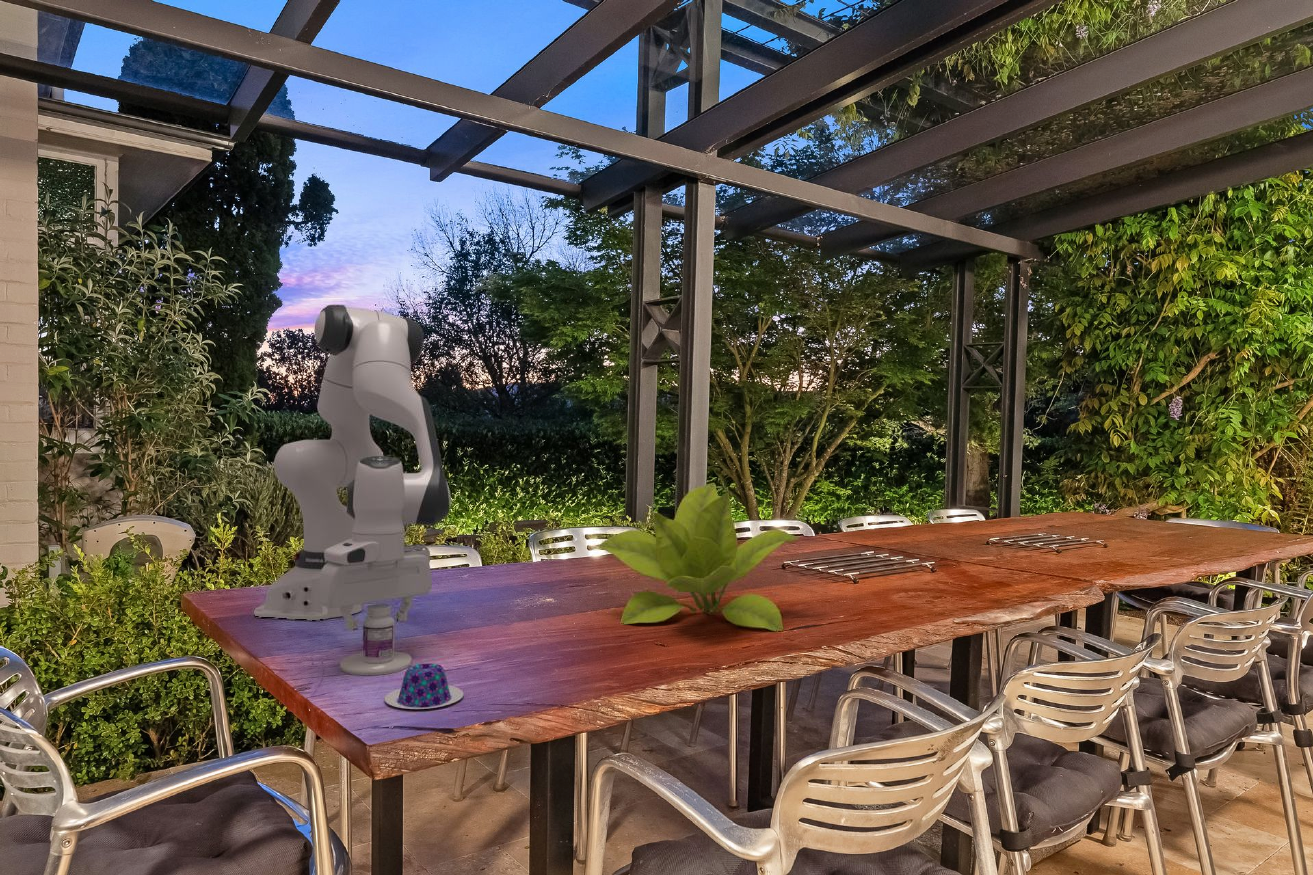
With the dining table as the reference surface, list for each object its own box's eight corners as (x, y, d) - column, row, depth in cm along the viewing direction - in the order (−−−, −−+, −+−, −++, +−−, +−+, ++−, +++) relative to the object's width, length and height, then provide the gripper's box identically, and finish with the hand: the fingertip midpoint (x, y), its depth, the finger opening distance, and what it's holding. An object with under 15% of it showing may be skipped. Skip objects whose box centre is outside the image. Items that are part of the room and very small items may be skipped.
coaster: (330, 675, 143) (330, 669, 143) (352, 655, 155) (352, 650, 155) (402, 675, 144) (402, 669, 144) (418, 656, 156) (418, 651, 156)
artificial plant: (590, 637, 197) (561, 543, 180) (690, 526, 224) (672, 434, 207) (745, 708, 174) (727, 607, 157) (836, 574, 201) (829, 475, 184)
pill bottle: (365, 656, 152) (366, 602, 152) (396, 655, 152) (397, 602, 152) (359, 664, 146) (360, 609, 146) (391, 664, 147) (392, 609, 147)
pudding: (411, 685, 140) (412, 654, 140) (476, 693, 137) (477, 661, 136) (368, 708, 128) (369, 674, 128) (438, 717, 125) (439, 682, 125)
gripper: (420, 541, 159) (419, 613, 159) (315, 551, 144) (313, 631, 144) (439, 544, 155) (437, 619, 155) (332, 555, 140) (330, 638, 140)
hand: (377, 625), depth 149 cm, fingers open, 8 cm apart
